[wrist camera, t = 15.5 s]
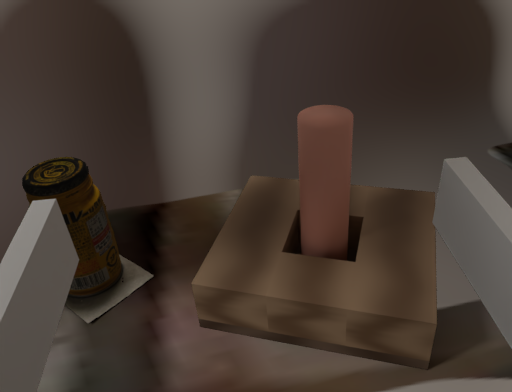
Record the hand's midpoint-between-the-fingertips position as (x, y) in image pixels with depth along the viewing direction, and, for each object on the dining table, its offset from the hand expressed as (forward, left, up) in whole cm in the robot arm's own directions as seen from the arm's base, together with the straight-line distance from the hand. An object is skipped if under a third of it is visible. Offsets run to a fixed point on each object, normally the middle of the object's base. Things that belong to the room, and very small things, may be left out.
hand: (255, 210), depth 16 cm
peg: (-1, +19, -20) cm, 28 cm away
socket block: (-1, +19, -21) cm, 29 cm away
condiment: (-22, +14, -22) cm, 34 cm away
